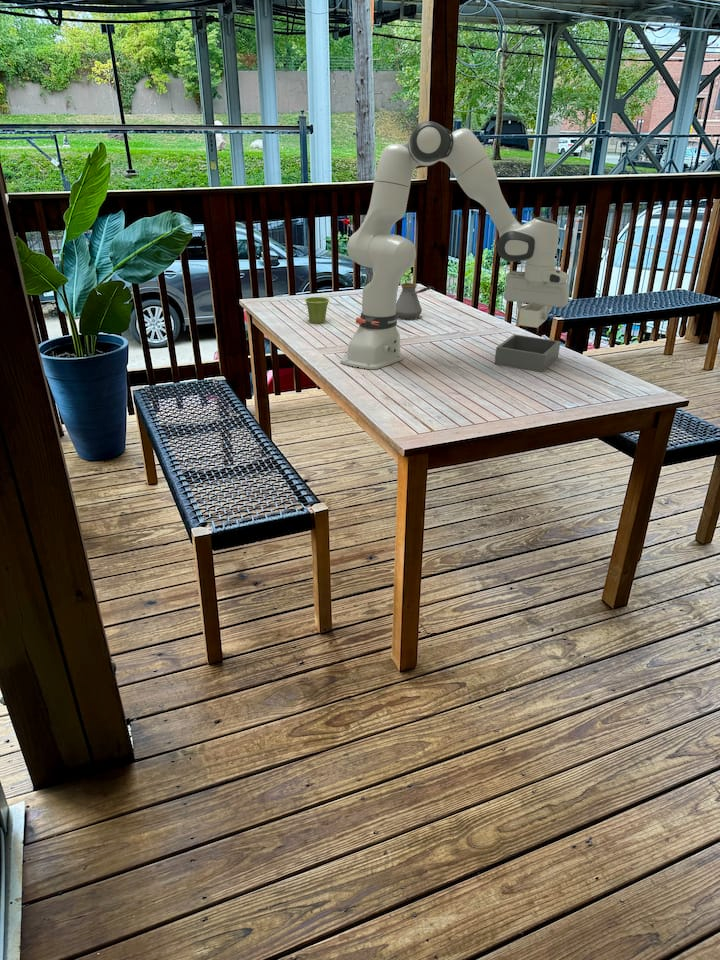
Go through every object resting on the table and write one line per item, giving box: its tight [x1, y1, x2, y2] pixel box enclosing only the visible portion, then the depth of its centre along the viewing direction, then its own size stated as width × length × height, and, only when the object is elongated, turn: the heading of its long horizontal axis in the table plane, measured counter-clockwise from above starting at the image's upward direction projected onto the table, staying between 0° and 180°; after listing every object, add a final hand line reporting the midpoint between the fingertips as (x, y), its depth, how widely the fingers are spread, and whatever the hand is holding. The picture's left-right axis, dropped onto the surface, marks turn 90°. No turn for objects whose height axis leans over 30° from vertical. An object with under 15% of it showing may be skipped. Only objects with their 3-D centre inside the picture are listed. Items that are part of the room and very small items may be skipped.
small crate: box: [518, 303, 548, 329], centre depth 210 cm, size 10×6×5 cm, turn 151°
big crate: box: [494, 334, 561, 373], centre depth 215 cm, size 18×16×6 cm
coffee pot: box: [396, 282, 434, 320], centre depth 259 cm, size 21×12×15 cm, turn 31°
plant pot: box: [304, 296, 330, 324], centre depth 255 cm, size 9×9×9 cm
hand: (532, 317), depth 210 cm, fingers closed on small crate, 6 cm apart
